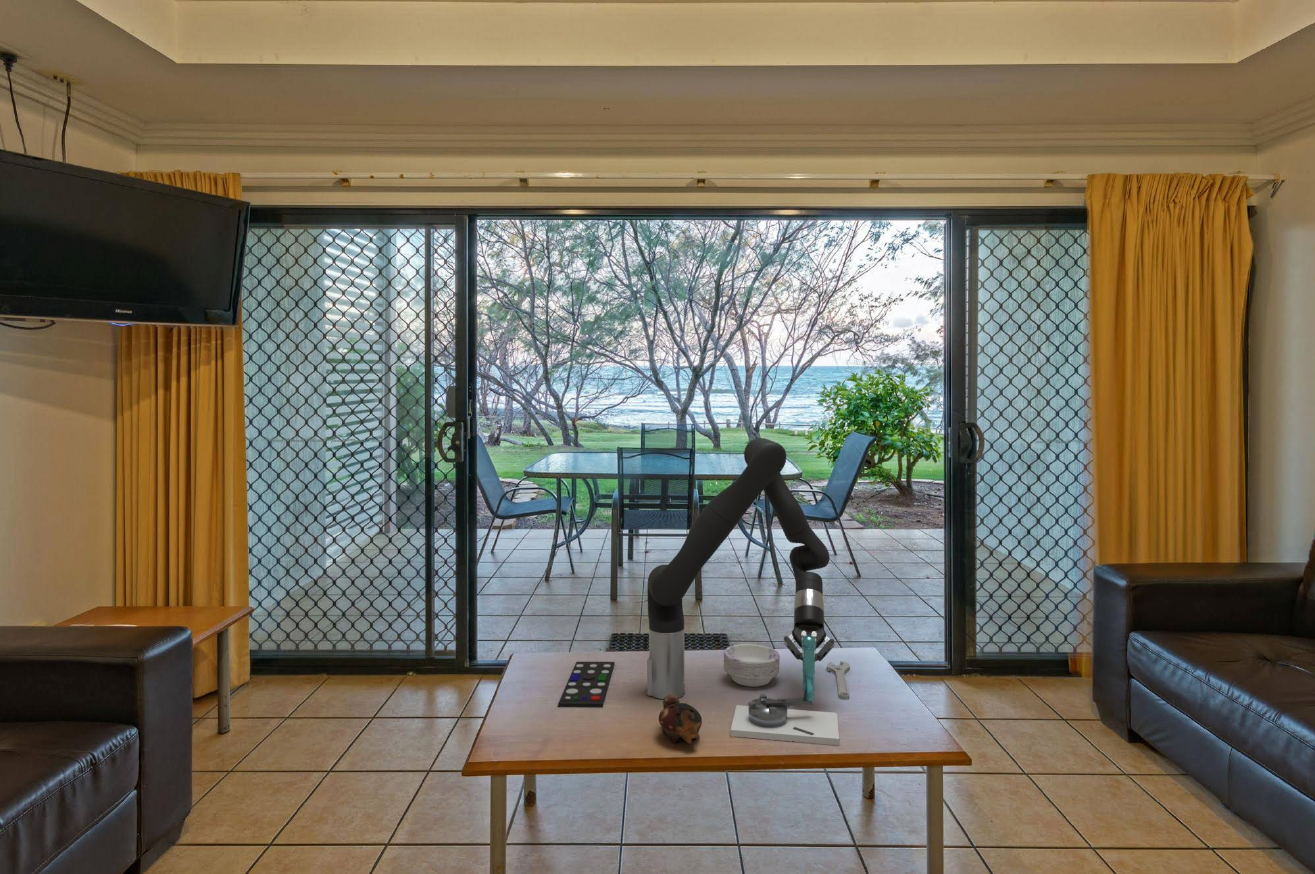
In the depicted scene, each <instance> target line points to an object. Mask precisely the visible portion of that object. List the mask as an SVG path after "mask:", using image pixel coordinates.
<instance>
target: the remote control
mask: <svg viewBox="0 0 1315 874" xmlns="http://www.w3.org/2000/svg"><path fill="white" fill-rule="evenodd" d="M614 668H615V661H576V662H575V663H574V667H573V668H572V671H571V674H570V675H569V678H568V680H567V682H566V684H565V687H564V689H563V692H562V694H561V696H560V699H559V701H558V704H557V705H558V706H557V707H558V708H599V709H600V708H602V709H603V707H604V704H605V701H606V697H607V692H608V690H609V686H610V682H611V679H612V676H613V673H614V672H613V671H614Z"/></svg>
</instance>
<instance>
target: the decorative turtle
mask: <svg viewBox="0 0 1315 874" xmlns="http://www.w3.org/2000/svg"><path fill="white" fill-rule="evenodd" d="M679 699H680V698H677V697H676V696H674V695H668V696H666V698H665V699H663V701H662V702H663V705H662V706H663V709H662V710H660V712H659V714H658V722H659V725H660V727H661V730H662V733H663V734H664V735H665V736H666V737H667V738H668V740H669V742H670V743H671V744H676V743H678V741H679V740H680V739H682V740H684V741H685V742H686V743H687V744H689V745H695V744H697V743H698V742H699V739H700V734H699V732H700V729H701V728H702V724H703V718H702V716H701V714H700V712H699V711H698V710H697V709H696V708H695V707H694V706H692V705H691V704H688V703H685V702H680V700H679Z"/></svg>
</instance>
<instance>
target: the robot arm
mask: <svg viewBox="0 0 1315 874" xmlns="http://www.w3.org/2000/svg"><path fill="white" fill-rule="evenodd" d="M743 458H744V461H745V464H746V467H745V468H744V470H743V471H742V472H741V474H740V475H739V476H738V478H737V479H736V480H735V481H733V483H731V484H730V485H729V486H727V487H726V488H725V489H723V490H721V491H720V492H719V493H718V494H716V495H715V496H714V497H713V498H712V499H710V501H709V502H708V503H707V504H706V506H704V508H703V509H702V511H701V512H700V513H699V514H698V516H697V517H696V518H695V520H694V522H693V524H692V525H691V527H690V529H689V531H688V533H687V536H686V538H685V540H684V542H683V544H682V546H681V548H680V549H679V551H678V552H677V553H676V555H675V556H674V557H673V559H672V560H671V561H670V562H669V563H668V564H660V565H657V566H656V567H654V568H653V569H652V570H651V571H650V573H649V575H648V579H647V584H646V585H647V588H646V589H647V617H648V638H649V640H648V643H649V644H648V646H649V647H648V649H649V650H648V651H649V652H648V654H649V655H648V658H647V660H646V663H647V665H646V666H647V669H646V670H647V671H646V672H647V673H646V674H647V677H646V678H647V696H650V697H653V698H655V699H660V700H664V699H665V698H666V696H668V695H674V696H676V697H677V698H678V699H680V697H681V698H682V696H684V694H685V691H686V690H685V687H686V685H685V684H686V683H685V681H686V680H685V674H686V673H685V671H686V670H685V667H686V666H685V616H684V609H683V599H684V597H685V595H686V594H687V592H688V591H689V589H690V587H691V585H692V584H693V582H694V581H695V579H696V577H697V576H698V575H699V572H700V571H701V569H703V567H704V566H705V564H707V562H708V561H709V560H710V559H711V558H712V556H713V555H714V554H715V553H716V551H717V550H718V549H719V548H720V546H721V545H722V544H723V543H724V542H725V540H726V539H727V537H728V536H730V534H731V533H732V531H734V529H735V527H736V526H737V525H738V523H739V522H740V520H741V519H742V518H743V516H744V515H745V514H746V513H747V511H748V510H750V509H749V508H750V507H751V506H752V505H753V503H754V502H755V500H756V499H757V498H758V497H759V496H760V495H761V493H762V492H764V493H765V495H766V497H767V499H768V501H769V503H770V505H771V507H772V509H773V511H774V515H775V516H776V518H777V520H778V521H777V522H778V523H779V525H780V527H781V529H782V531H783V533H784V536H785V538H786V539H787V541H788V542H789V543H792V544H801V545H799V546H798V545H797V546H794V547H793V548H792V549H791V551H790V553H789V562H790V566H791V568H792V571H793V575H794V580H795V581H794V583H795V597H794V604H793V606H794V607H793V629H792V630H791V634H790V635H785V636H783V644H784V645H785V646H786V648H787V649H788V650H789V652H790V653H791V654H792V655H793V656H794V658H795V659H796V660H800V661H802V662H803V646H802V639H803V638H804V637H805V636H812V637H814V638H815V640H816V647H815V663H816V662H817V661H818V662H821V661H823V659H824V658H825V657H826V656H827V655H828V654H829V653H830V651H831V650H832V649H833V648H834V647H835V639H834V638H830V637H828V636H827V633H826V630H825V602H824V591H823V590H824V589H823V588H824V587H823V585H824V584H823V578H822V576H821V575H820V574H819V573H816V572H813V571H814V570H819V569H820V570H821V569H824V568H825V567H827V566H828V565H829V562H830V557H831V556H830V553H829V550H828V548H827V546H826V545H825V544H824V542H823V541H822V540H821V539H820V538H819V536H817V534H816V533H815V532H814V531H813V529H812V528H811V526H810V523H809V522H808V519H807V517H806V515H805V512H804V511H803V508H802V507H801V505H800V504H799V502H798V500H797V499H796V497H795V496H794V494H793V493H792V491H791V490H790V488H789V486H788V484H787V483H786V481H785V480H784V478H783V476H782V473H781V472H782V471H783V469H784V468H785V466H786V462H787V451H786V449H785V447H783V445H781V444H780V443H778V442H776V441H773V440H770V439H768V438H763V437H757V438H753V439H752V440H750V441H749V442H748V443H747V444H746V446H745V448H744V451H743ZM795 643H796V644H797V645H798V647H800V648H801V651H800V650H799V648H798V647H797V646H796V645H795ZM822 644H823V646H822V647H821V649H820V650H819V651H818V652H816V651H817V649H819V647H820V646H821V645H822ZM815 670H816V669H815ZM815 670H814V674H815V673H816V672H815Z"/></svg>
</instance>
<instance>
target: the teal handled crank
mask: <svg viewBox="0 0 1315 874" xmlns="http://www.w3.org/2000/svg"><path fill="white" fill-rule="evenodd" d="M802 646H803V661H802V672H803V673H802V674H803V675H802V676H803V677H802V678H803V679H802V683H803V684H802V687H803V688H802V691H803V692H802V697H794V698H777V699H776V698H769V697H768V696H767V695H766V693H762V694H759V698H757V699H756V698H755V699H752V700H751V701H748V703H747V704H748V705H747V706H748V718H749V720H750V721H751V722H752V723H754V724H756V725H759V726H765V727H776V726H781V725H783V724H785V723H786V722H787V709H788V707H797V706H812V705H813V702H814V701H815V673H814V670H816V669H815V668H816V667H815V665H816V662H815V654H816V653H815V647H816V640H815V638H814V637H812V636H805V637H804V638H803V639H802Z"/></svg>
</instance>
